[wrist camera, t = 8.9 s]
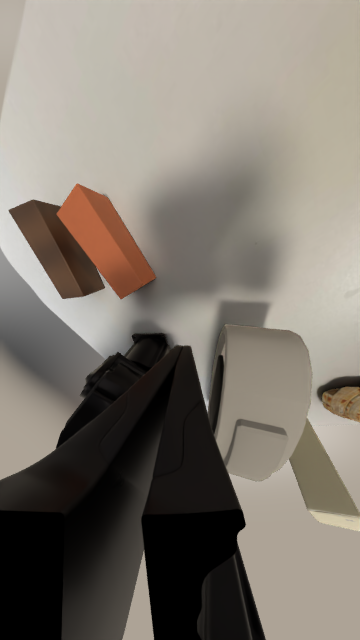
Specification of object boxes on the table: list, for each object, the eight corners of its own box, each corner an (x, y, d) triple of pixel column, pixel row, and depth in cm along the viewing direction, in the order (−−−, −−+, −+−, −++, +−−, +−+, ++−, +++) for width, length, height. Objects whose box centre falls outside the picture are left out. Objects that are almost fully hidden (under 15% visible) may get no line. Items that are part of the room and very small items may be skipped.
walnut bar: (105, 288, 21) (84, 296, 17) (85, 290, 22) (62, 299, 18) (70, 208, 16) (32, 199, 13) (48, 216, 17) (7, 209, 14)
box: (263, 391, 25) (304, 509, 14) (290, 387, 23) (364, 520, 12) (273, 407, 26) (317, 524, 15) (299, 404, 24) (372, 536, 13)
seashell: (332, 387, 18) (447, 421, 14) (325, 360, 22) (412, 379, 17) (314, 418, 22) (399, 453, 17) (311, 390, 26) (379, 413, 21)
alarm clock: (221, 303, 18) (235, 391, 7) (271, 306, 17) (379, 418, 6) (207, 399, 29) (204, 489, 19) (236, 405, 28) (251, 504, 17)
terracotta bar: (156, 277, 18) (143, 284, 15) (136, 290, 20) (120, 299, 16) (107, 197, 15) (76, 182, 11) (88, 220, 16) (55, 213, 13)
